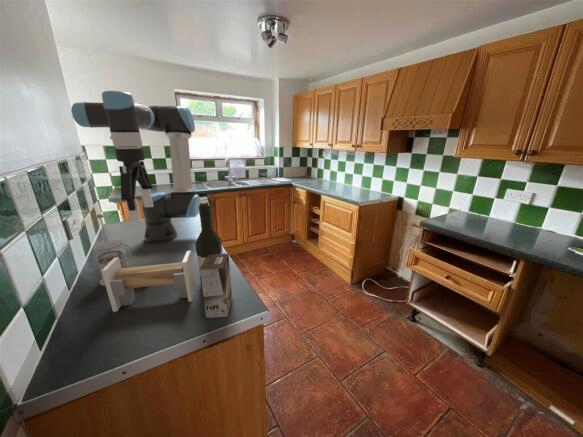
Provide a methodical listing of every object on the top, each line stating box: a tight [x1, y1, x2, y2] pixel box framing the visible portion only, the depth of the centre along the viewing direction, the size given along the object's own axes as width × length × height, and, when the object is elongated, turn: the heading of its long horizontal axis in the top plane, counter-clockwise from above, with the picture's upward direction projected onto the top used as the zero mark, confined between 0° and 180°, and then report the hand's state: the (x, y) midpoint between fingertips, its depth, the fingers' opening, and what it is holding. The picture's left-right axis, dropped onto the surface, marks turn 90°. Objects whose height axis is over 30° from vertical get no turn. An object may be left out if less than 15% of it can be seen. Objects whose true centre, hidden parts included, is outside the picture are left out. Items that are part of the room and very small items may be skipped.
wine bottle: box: [194, 201, 224, 288], centre depth 81 cm, size 8×8×30 cm
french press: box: [92, 213, 131, 287], centre depth 86 cm, size 10×12×25 cm
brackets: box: [101, 250, 197, 313], centre depth 76 cm, size 8×22×14 cm, turn 103°
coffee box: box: [199, 253, 233, 319], centre depth 71 cm, size 9×6×16 cm
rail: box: [116, 261, 184, 289], centre depth 75 cm, size 4×18×5 cm, turn 103°
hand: (143, 212), depth 81 cm, fingers open, 13 cm apart
